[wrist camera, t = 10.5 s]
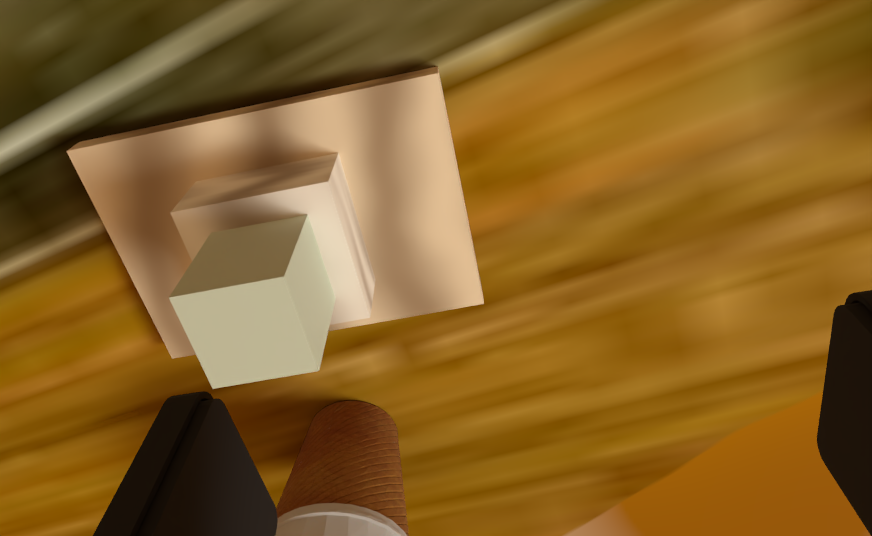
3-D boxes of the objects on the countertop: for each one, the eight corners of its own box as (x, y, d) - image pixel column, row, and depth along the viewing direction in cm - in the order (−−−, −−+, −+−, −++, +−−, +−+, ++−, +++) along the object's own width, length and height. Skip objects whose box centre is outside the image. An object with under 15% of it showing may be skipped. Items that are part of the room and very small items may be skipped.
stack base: (437, 66, 34) (439, 94, 29) (482, 290, 40) (489, 343, 36) (79, 141, 35) (25, 179, 31) (180, 344, 42) (148, 401, 37)
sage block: (307, 214, 32) (283, 276, 26) (335, 298, 34) (318, 370, 29) (210, 232, 32) (168, 297, 27) (245, 314, 35) (212, 388, 29)
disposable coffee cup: (347, 358, 43) (321, 505, 33) (447, 433, 46) (453, 587, 36) (259, 434, 46) (210, 589, 36) (359, 498, 50) (340, 658, 39)
